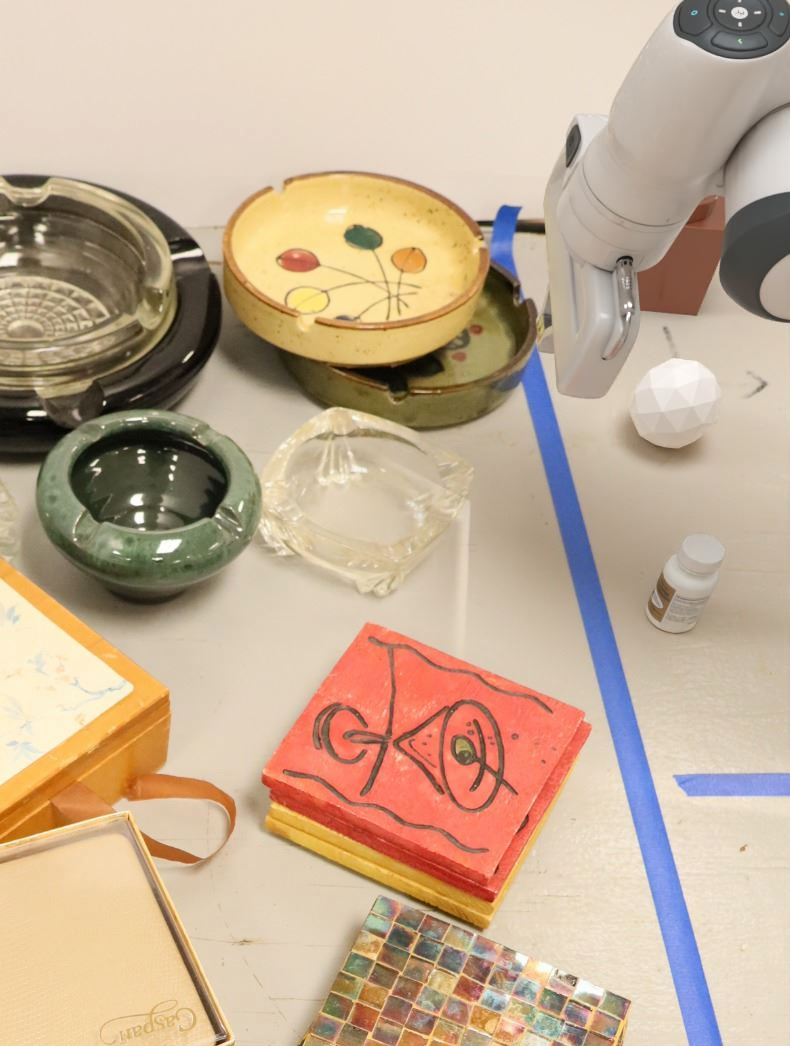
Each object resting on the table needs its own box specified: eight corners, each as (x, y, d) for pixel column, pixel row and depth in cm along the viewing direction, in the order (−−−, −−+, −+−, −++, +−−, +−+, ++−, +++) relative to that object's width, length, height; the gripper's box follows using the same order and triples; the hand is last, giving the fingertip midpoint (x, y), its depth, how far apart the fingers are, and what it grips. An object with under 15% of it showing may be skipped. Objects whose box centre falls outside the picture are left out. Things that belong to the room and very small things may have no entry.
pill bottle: (643, 593, 123) (675, 525, 116) (695, 600, 122) (729, 532, 116) (645, 630, 120) (677, 563, 114) (698, 637, 120) (733, 571, 114)
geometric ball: (670, 455, 136) (748, 406, 131) (644, 473, 131) (725, 422, 125) (629, 386, 136) (706, 334, 130) (601, 401, 130) (680, 347, 125)
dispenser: (689, 268, 148) (730, 165, 138) (696, 316, 143) (739, 213, 134) (592, 259, 148) (626, 155, 139) (596, 306, 144) (632, 203, 135)
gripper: (676, 330, 101) (590, 450, 114) (653, 108, 107) (574, 245, 120) (591, 319, 100) (514, 441, 113) (572, 96, 107) (502, 236, 120)
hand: (545, 338), depth 117 cm, fingers closed
